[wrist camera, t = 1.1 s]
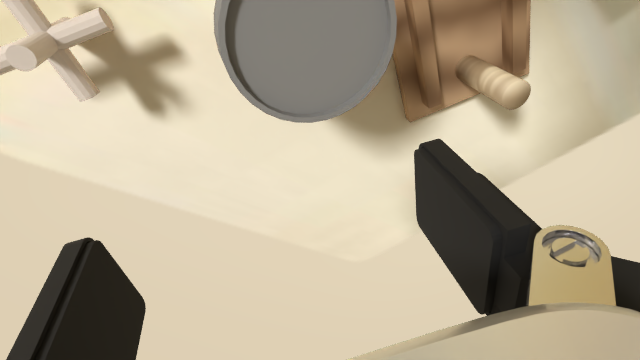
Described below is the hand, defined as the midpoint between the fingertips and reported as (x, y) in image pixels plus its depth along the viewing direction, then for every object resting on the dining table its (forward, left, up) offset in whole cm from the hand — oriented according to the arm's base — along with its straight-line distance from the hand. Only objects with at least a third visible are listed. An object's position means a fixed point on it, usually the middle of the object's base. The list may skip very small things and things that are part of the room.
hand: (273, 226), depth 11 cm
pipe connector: (-5, -14, -32) cm, 35 cm away
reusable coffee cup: (0, +5, -32) cm, 32 cm away
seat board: (+7, +23, -32) cm, 40 cm away
